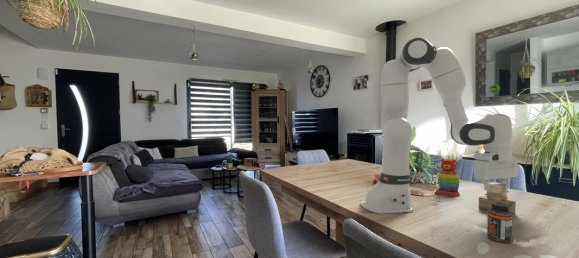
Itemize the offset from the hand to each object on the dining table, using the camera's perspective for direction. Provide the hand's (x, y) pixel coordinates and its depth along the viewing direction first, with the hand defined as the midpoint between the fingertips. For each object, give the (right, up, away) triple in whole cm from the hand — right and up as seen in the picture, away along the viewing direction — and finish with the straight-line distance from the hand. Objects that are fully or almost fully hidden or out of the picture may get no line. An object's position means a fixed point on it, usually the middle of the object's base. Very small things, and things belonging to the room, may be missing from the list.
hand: (496, 189), depth 103 cm
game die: (+13, -10, +16) cm, 23 cm away
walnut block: (0, -9, 0) cm, 9 cm away
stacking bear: (-1, -9, +29) cm, 31 cm away
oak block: (0, -4, 0) cm, 4 cm away
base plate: (0, -10, 0) cm, 10 cm away
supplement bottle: (-16, -11, -21) cm, 28 cm away
